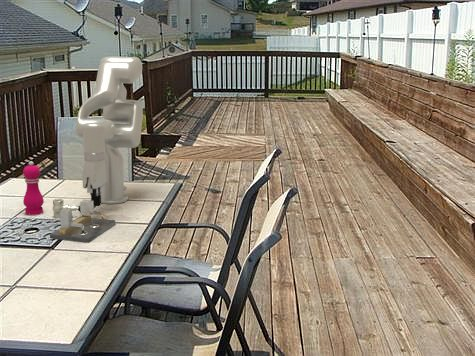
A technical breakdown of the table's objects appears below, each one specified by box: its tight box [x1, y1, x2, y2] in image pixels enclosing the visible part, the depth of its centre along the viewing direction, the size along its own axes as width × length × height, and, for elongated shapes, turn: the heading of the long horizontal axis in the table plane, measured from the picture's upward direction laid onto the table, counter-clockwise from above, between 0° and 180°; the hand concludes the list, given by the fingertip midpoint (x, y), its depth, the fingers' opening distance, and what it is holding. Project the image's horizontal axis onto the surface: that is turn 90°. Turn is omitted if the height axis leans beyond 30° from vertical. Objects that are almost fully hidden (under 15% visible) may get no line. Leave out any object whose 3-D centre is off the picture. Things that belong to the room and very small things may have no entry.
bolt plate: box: [49, 209, 116, 244], centre depth 199 cm, size 20×14×9 cm
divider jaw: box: [79, 199, 105, 220], centre depth 206 cm, size 3×8×6 cm, turn 75°
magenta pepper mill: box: [22, 160, 45, 216], centre depth 216 cm, size 7×7×20 cm
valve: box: [52, 198, 83, 219], centre depth 214 cm, size 7×7×12 cm
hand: (96, 205), depth 213 cm, fingers closed
